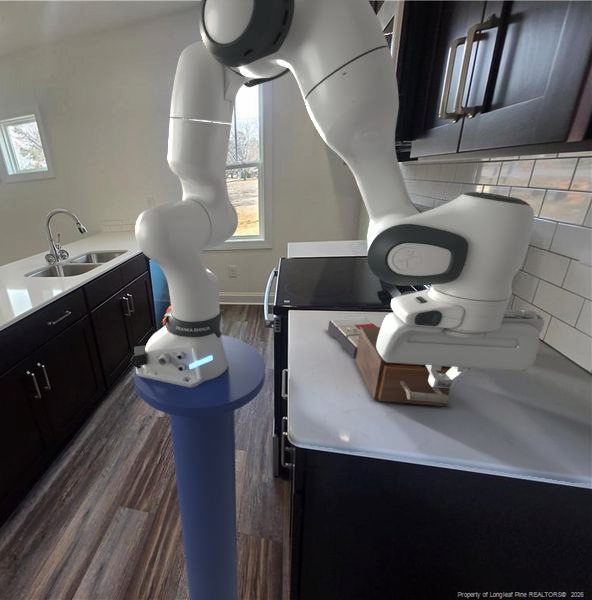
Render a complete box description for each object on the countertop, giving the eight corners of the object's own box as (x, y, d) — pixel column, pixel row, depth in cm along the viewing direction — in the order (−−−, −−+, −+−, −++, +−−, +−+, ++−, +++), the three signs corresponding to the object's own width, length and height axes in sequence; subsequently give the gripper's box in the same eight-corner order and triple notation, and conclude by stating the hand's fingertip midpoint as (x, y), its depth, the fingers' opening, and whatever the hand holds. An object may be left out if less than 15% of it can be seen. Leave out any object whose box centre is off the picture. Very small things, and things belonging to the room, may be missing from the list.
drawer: (459, 424, 56) (470, 388, 53) (388, 418, 59) (395, 383, 56) (414, 366, 73) (421, 337, 70) (361, 363, 75) (365, 334, 73)
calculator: (356, 346, 77) (328, 318, 91) (353, 360, 79) (327, 331, 93) (400, 342, 78) (366, 315, 91) (396, 357, 80) (363, 328, 93)
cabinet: (444, 406, 62) (456, 364, 58) (373, 400, 65) (381, 360, 61) (412, 364, 75) (421, 328, 72) (355, 361, 78) (360, 326, 74)
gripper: (530, 302, 47) (501, 379, 53) (380, 298, 51) (367, 369, 57) (567, 320, 42) (530, 404, 47) (395, 314, 46) (379, 392, 51)
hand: (440, 385), depth 52 cm, fingers closed
